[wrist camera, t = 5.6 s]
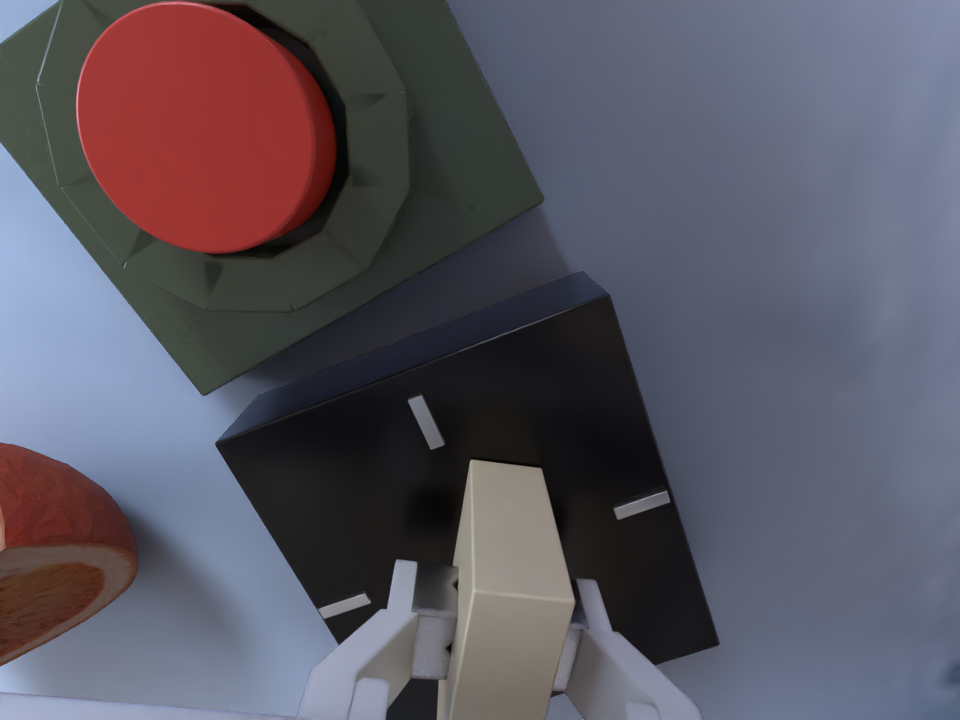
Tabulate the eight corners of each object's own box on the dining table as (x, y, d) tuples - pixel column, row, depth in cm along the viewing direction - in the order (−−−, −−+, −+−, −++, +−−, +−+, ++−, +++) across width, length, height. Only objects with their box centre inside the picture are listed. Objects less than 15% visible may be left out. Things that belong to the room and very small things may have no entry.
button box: (228, 374, 16) (167, 429, 13) (9, 89, 13) (-139, 64, 10) (537, 197, 15) (558, 207, 11) (357, -159, 12) (317, -282, 9)
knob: (470, 458, 14) (472, 601, 9) (542, 467, 14) (580, 612, 9) (440, 632, 15) (431, 824, 11) (505, 639, 16) (521, 830, 11)
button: (218, 276, 12) (178, 294, 10) (88, 97, 11) (20, 84, 9) (376, 180, 11) (360, 182, 10) (257, -20, 10) (217, -55, 9)
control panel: (256, 395, 16) (209, 447, 13) (582, 269, 15) (611, 294, 12) (408, 661, 20) (399, 750, 17) (682, 573, 19) (723, 650, 16)
